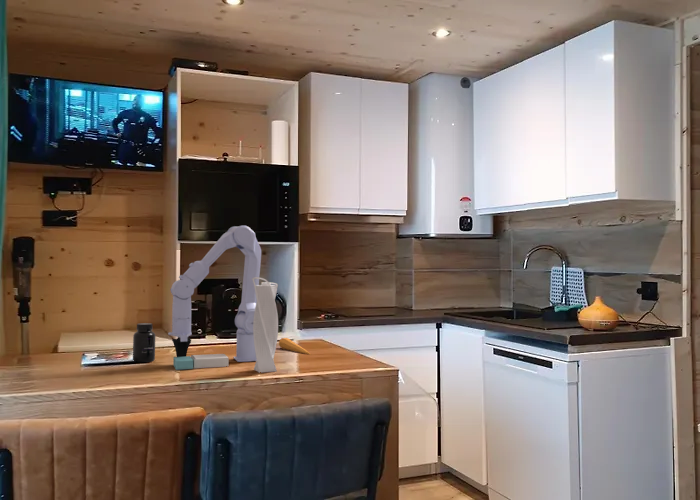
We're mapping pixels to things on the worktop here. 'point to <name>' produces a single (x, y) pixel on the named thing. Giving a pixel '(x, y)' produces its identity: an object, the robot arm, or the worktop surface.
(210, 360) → the gray rectangular block
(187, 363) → the stub
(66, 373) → the worktop surface
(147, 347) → the supplement bottle
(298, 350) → the carrot
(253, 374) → the worktop surface
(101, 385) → the worktop surface
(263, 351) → the skyscraper
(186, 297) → the robot arm
